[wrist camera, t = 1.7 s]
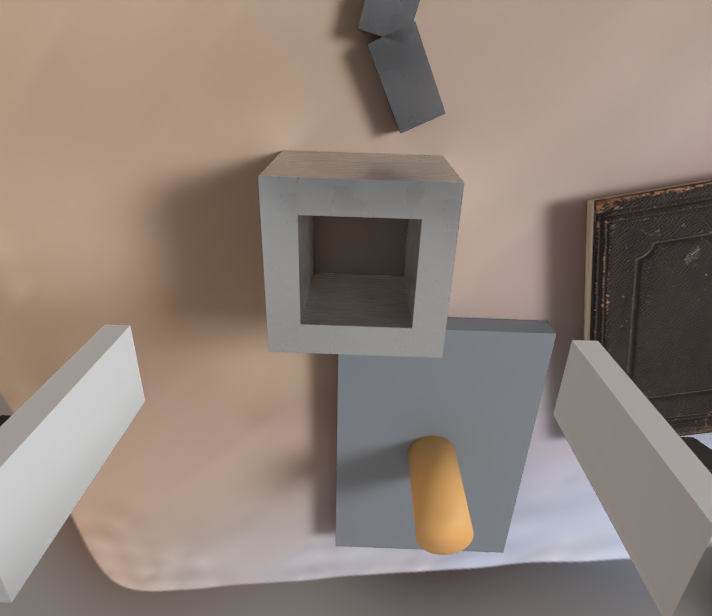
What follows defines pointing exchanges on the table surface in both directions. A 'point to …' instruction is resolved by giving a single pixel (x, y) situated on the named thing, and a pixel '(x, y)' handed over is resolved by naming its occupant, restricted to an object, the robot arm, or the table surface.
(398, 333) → the square tube segment
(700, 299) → the hardcover book
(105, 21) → the table surface
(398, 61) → the chain tail
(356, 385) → the keeper
